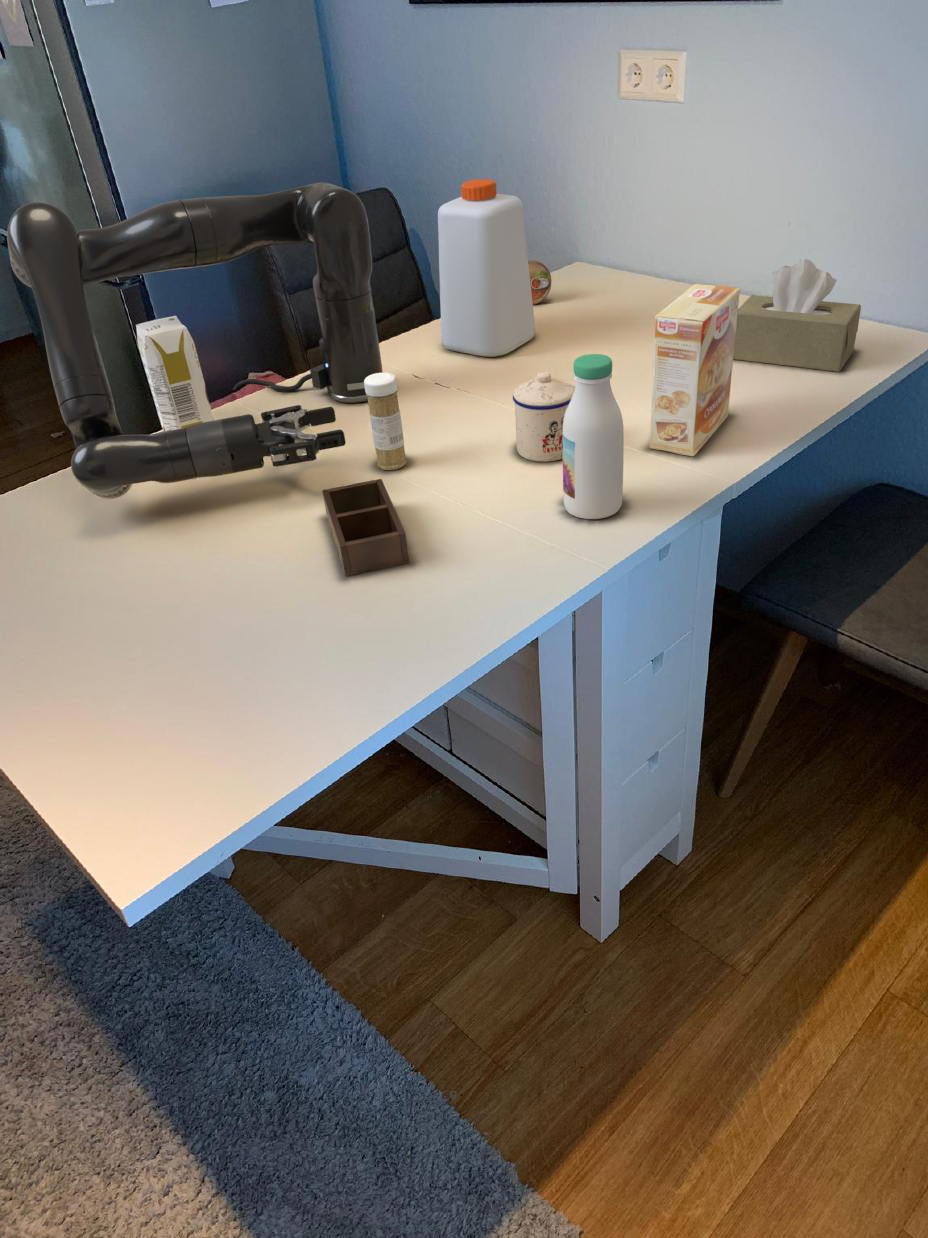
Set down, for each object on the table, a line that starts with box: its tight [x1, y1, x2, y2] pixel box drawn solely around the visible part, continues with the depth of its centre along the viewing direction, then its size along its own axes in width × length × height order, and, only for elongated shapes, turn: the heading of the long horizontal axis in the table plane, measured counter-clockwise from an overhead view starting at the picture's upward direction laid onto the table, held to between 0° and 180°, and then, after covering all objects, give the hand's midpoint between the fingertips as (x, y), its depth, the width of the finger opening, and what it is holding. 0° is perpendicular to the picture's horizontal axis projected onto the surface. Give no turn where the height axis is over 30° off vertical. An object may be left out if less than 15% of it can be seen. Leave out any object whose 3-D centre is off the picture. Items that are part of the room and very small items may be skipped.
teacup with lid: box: [512, 371, 575, 463], centre depth 135 cm, size 12×9×12 cm
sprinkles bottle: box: [364, 372, 408, 471], centre depth 134 cm, size 5×5×13 cm
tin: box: [528, 260, 552, 305], centre depth 191 cm, size 15×3×8 cm, turn 81°
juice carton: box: [135, 315, 215, 432], centre depth 144 cm, size 8×9×19 cm
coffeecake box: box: [649, 283, 741, 457], centre depth 133 cm, size 15×7×20 cm, turn 148°
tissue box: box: [733, 258, 862, 373], centre depth 154 cm, size 19×10×16 cm, turn 59°
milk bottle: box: [562, 353, 625, 520], centre depth 117 cm, size 8×8×20 cm
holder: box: [321, 478, 411, 577], centre depth 120 cm, size 8×15×4 cm, turn 15°
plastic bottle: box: [437, 178, 536, 358], centre depth 168 cm, size 15×15×28 cm
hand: (339, 425), depth 132 cm, fingers open, 8 cm apart
